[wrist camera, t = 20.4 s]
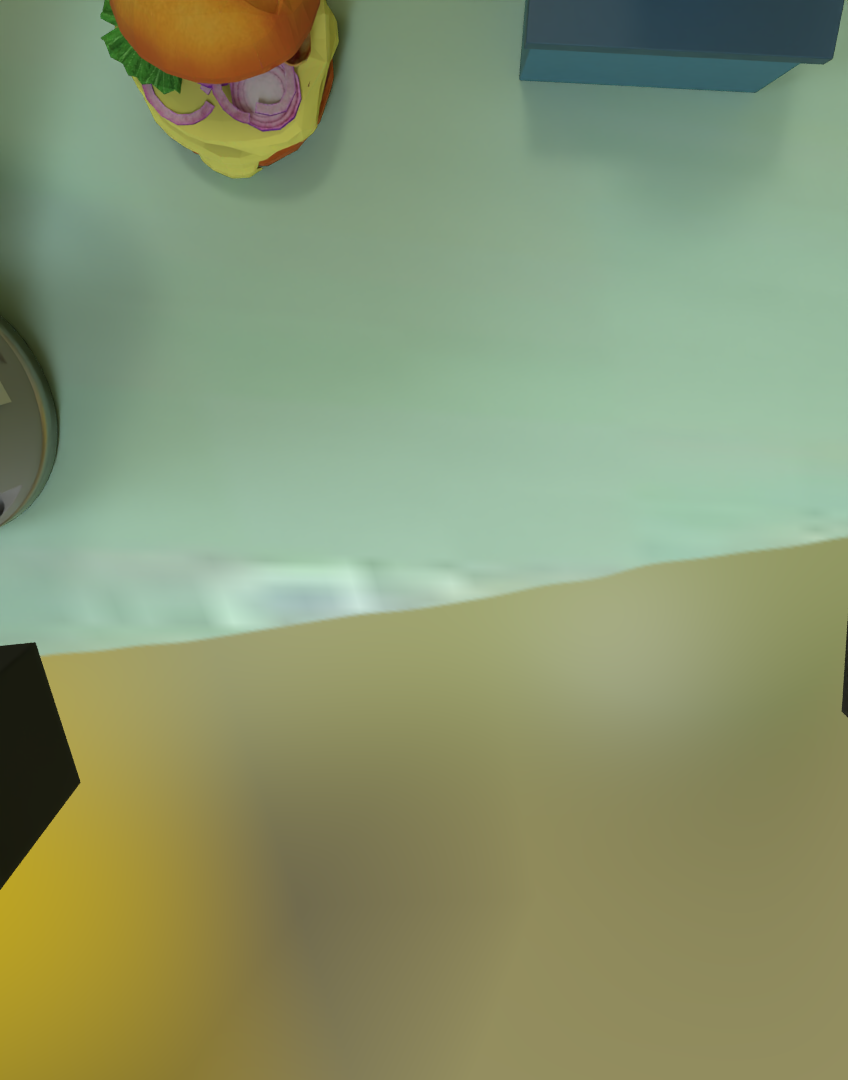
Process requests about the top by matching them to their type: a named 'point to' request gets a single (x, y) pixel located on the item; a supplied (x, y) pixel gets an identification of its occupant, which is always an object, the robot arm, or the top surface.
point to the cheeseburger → (229, 73)
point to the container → (676, 41)
